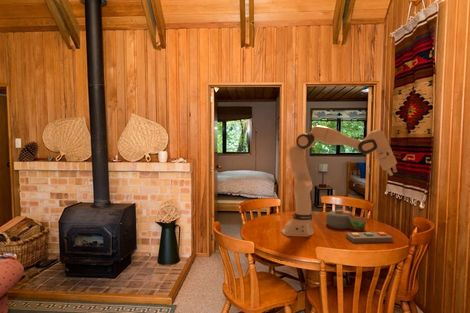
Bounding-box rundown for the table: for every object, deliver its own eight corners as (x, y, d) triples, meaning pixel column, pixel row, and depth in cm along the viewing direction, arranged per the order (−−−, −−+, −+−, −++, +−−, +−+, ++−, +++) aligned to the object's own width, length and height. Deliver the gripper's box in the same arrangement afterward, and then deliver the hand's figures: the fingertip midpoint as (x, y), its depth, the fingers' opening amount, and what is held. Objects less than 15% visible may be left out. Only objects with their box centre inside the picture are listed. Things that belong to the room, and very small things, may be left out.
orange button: (380, 236, 195) (380, 233, 194) (377, 234, 199) (377, 232, 198) (386, 236, 195) (386, 233, 195) (383, 234, 199) (383, 231, 199)
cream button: (353, 237, 194) (353, 234, 194) (351, 235, 198) (351, 232, 198) (359, 237, 194) (359, 234, 194) (356, 235, 198) (356, 232, 198)
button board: (353, 242, 190) (353, 238, 190) (345, 237, 202) (345, 232, 202) (392, 241, 191) (392, 237, 191) (382, 236, 203) (382, 231, 203)
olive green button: (367, 237, 194) (367, 234, 194) (364, 235, 198) (364, 232, 198) (373, 236, 194) (373, 234, 194) (370, 235, 198) (370, 232, 198)
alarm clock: (358, 226, 226) (358, 211, 225) (339, 230, 217) (339, 214, 216) (339, 221, 243) (339, 206, 242) (321, 224, 234) (321, 209, 234)
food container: (348, 230, 216) (348, 217, 215) (348, 228, 222) (348, 215, 221) (367, 232, 211) (367, 218, 211) (366, 230, 217) (366, 216, 217)
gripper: (384, 152, 198) (393, 171, 197) (375, 157, 184) (383, 178, 182) (394, 149, 194) (402, 169, 193) (385, 154, 179) (394, 175, 178)
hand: (393, 173), depth 187 cm, fingers open, 8 cm apart
